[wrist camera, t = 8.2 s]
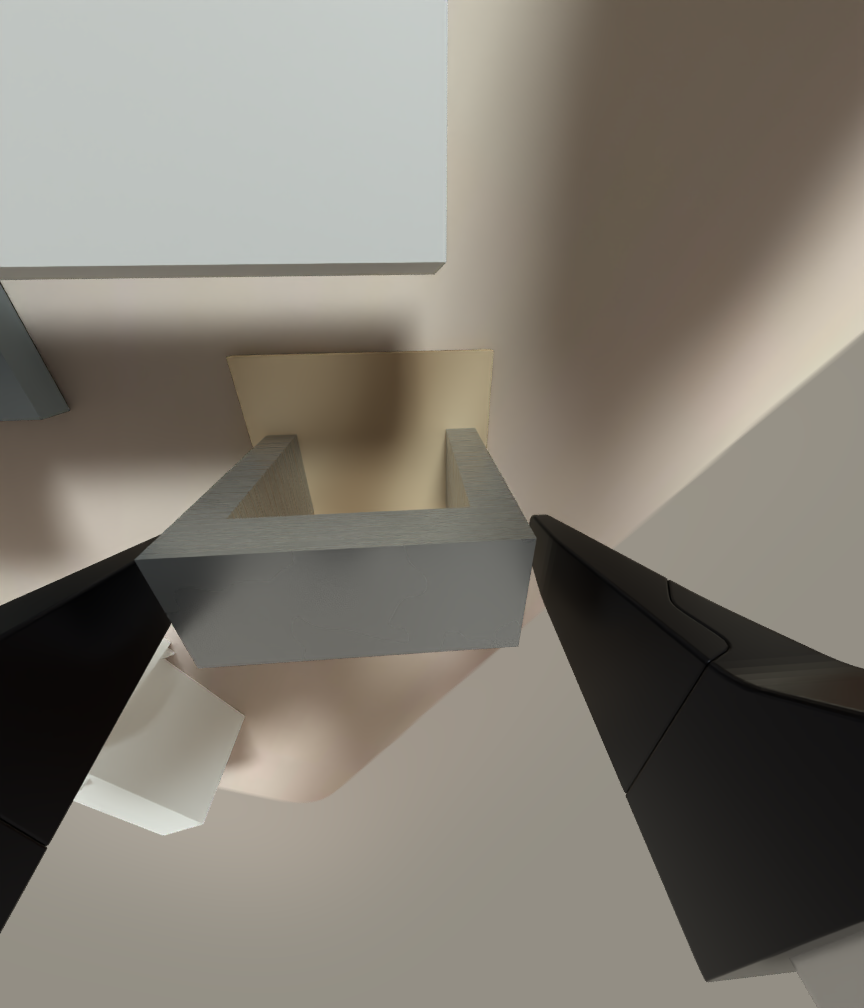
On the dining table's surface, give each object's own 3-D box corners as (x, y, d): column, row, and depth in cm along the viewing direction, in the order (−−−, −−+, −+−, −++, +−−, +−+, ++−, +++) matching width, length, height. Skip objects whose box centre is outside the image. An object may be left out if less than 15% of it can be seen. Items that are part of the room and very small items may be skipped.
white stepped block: (278, 733, 22) (242, 856, 17) (76, 721, 20) (-30, 856, 15) (293, 556, 15) (238, 678, 10) (-18, 508, 13) (-277, 633, 8)
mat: (490, 349, 11) (493, 350, 10) (477, 549, 15) (479, 555, 15) (231, 355, 10) (225, 357, 10) (290, 559, 14) (287, 565, 14)
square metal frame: (471, 503, 13) (518, 646, 8) (287, 512, 13) (198, 668, 7) (475, 428, 12) (536, 538, 6) (266, 435, 11) (134, 559, 6)
